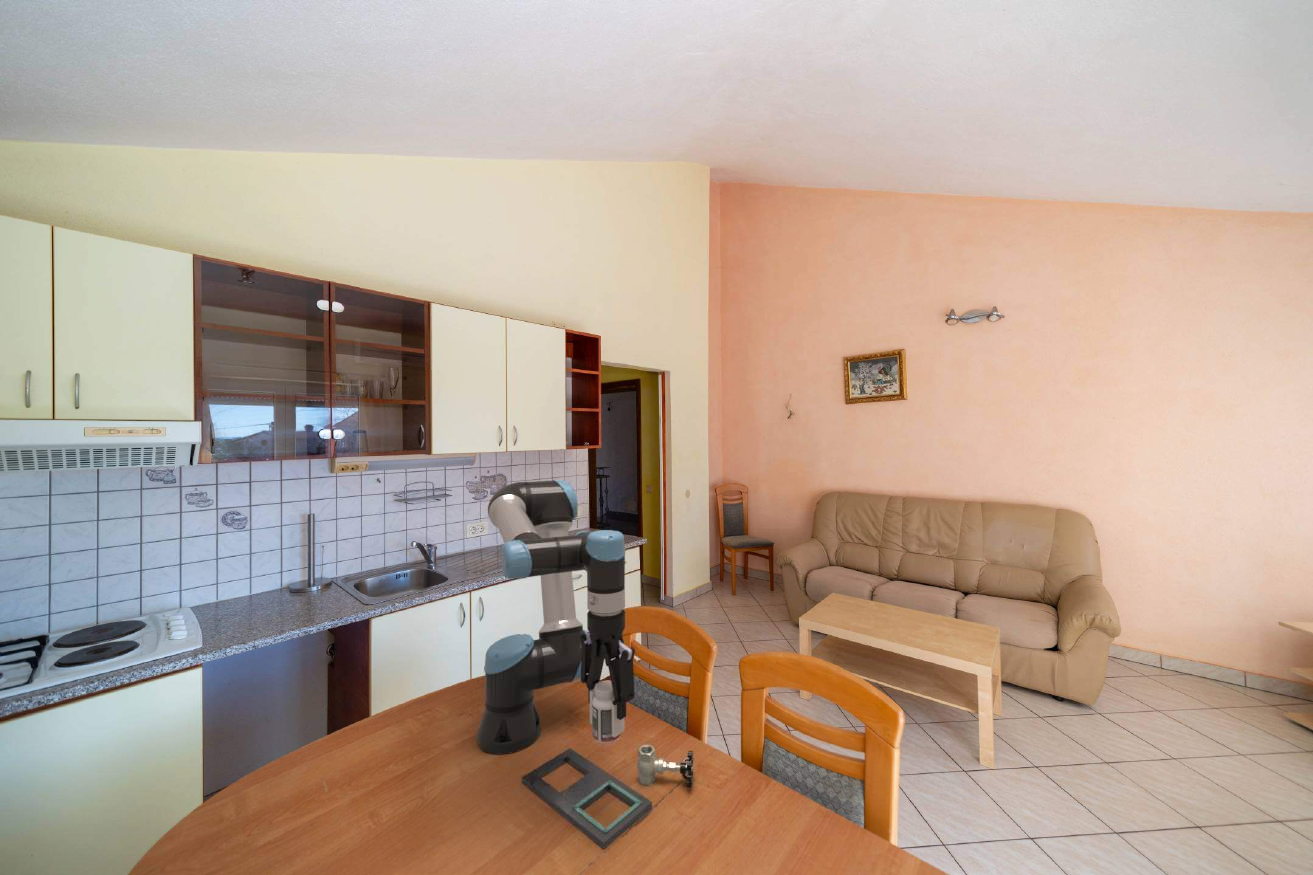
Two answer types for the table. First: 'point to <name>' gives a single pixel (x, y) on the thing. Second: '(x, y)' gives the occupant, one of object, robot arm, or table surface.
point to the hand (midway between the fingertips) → (606, 726)
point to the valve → (661, 766)
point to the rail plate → (587, 797)
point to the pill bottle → (603, 713)
